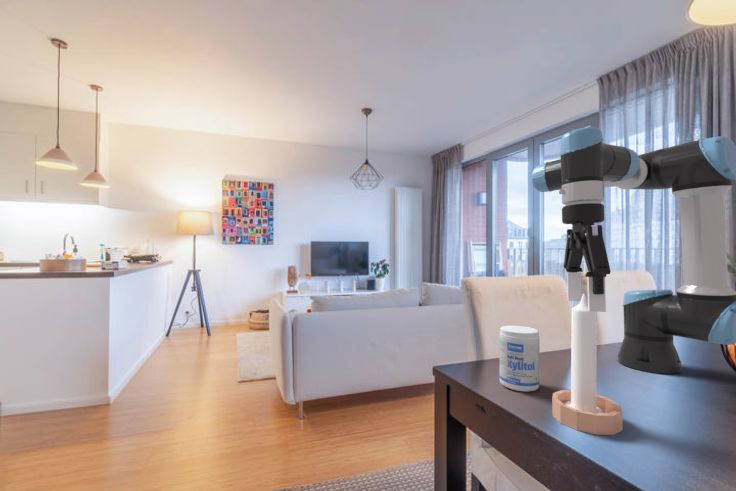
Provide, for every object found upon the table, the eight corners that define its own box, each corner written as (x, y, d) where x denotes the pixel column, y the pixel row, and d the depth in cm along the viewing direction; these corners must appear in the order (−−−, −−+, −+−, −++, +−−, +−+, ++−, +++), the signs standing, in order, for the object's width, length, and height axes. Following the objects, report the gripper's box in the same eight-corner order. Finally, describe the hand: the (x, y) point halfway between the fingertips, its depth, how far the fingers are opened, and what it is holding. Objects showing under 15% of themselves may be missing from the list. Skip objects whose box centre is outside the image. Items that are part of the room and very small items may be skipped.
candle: (609, 422, 68) (610, 297, 67) (569, 417, 70) (569, 295, 69) (596, 406, 74) (597, 292, 74) (560, 402, 76) (560, 290, 76)
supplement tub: (508, 393, 84) (507, 333, 84) (494, 378, 94) (493, 325, 94) (547, 393, 84) (546, 333, 84) (529, 378, 93) (528, 325, 94)
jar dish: (596, 406, 77) (595, 390, 77) (637, 434, 65) (637, 415, 65) (542, 406, 77) (541, 390, 77) (573, 434, 65) (573, 415, 65)
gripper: (548, 211, 85) (550, 297, 84) (581, 196, 61) (584, 316, 60) (582, 210, 83) (584, 297, 82) (631, 194, 59) (634, 317, 58)
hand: (584, 305), depth 71 cm, fingers open, 13 cm apart
